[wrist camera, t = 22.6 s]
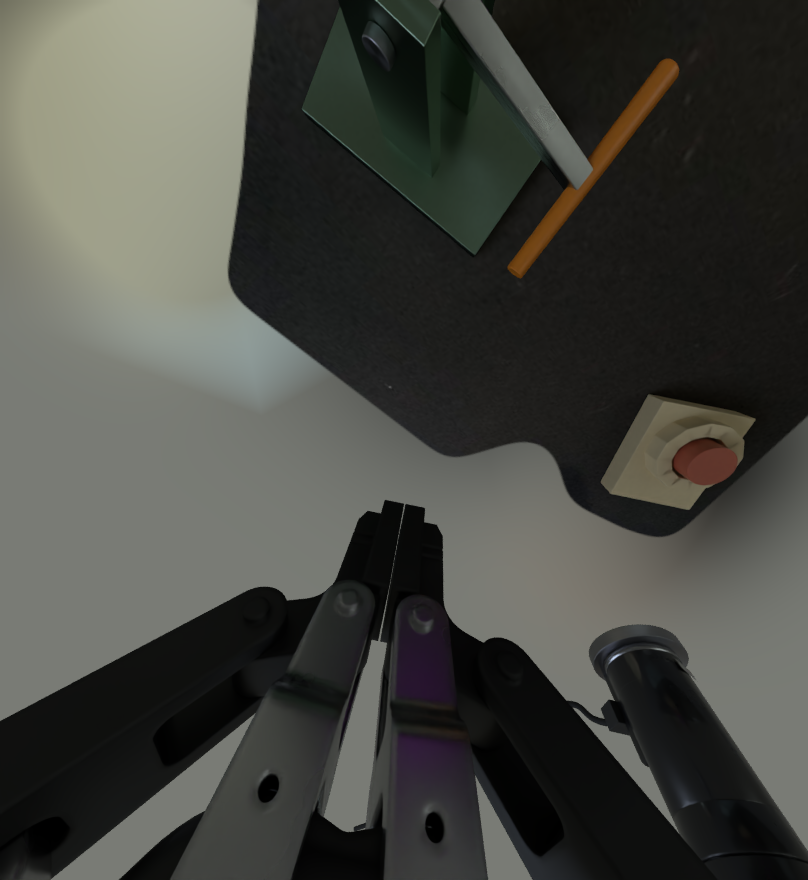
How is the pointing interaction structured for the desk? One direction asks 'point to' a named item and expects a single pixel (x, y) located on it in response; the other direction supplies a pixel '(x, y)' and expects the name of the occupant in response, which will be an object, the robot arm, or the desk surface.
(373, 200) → the desk surface
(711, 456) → the stop button
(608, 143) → the lever
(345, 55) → the switch bracket
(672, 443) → the stop housing
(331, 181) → the desk surface
